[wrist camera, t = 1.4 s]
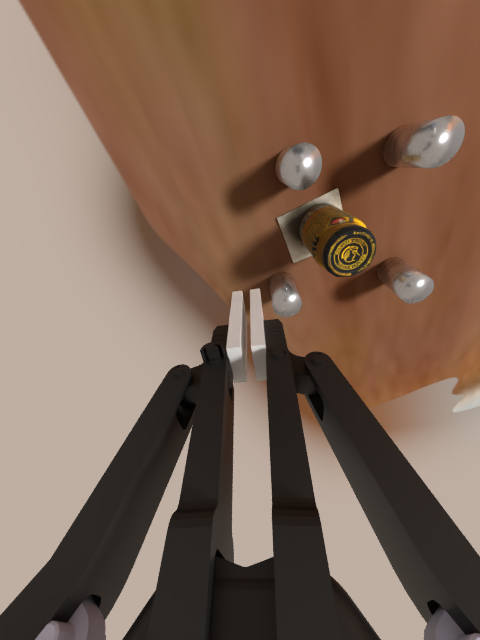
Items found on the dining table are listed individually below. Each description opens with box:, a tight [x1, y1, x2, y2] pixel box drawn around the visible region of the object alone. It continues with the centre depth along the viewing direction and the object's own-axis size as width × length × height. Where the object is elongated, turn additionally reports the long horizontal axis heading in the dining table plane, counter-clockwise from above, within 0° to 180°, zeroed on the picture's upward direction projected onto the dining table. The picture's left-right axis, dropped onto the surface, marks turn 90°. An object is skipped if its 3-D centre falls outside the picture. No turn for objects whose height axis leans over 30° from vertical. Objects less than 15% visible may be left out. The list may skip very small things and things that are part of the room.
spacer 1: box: [275, 143, 322, 190], centre depth 26 cm, size 4×4×7 cm
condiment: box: [277, 188, 376, 277], centre depth 29 cm, size 7×8×12 cm
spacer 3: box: [383, 116, 465, 168], centre depth 25 cm, size 4×4×7 cm
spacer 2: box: [269, 272, 302, 317], centre depth 35 cm, size 4×4×7 cm
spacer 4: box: [377, 258, 434, 303], centre depth 34 cm, size 4×4×7 cm
